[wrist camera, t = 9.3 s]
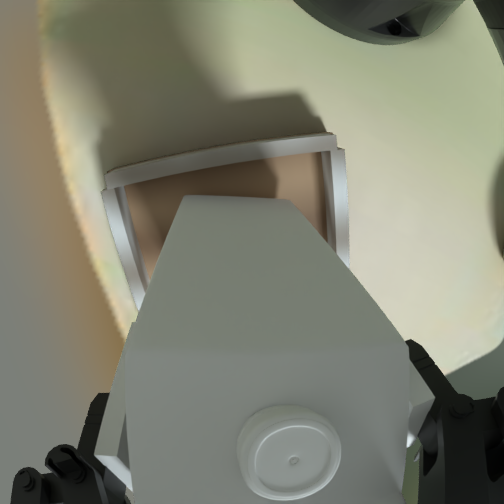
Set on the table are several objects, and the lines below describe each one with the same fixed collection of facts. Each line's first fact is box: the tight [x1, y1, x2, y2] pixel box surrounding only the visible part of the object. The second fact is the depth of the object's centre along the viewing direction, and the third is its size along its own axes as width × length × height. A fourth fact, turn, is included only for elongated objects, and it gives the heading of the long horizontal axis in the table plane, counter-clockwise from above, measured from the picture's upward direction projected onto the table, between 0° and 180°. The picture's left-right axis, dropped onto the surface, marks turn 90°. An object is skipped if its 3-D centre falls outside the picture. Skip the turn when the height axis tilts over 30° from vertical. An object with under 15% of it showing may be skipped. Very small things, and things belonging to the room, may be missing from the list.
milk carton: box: [125, 195, 410, 504], centre depth 13 cm, size 7×7×19 cm
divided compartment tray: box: [101, 132, 349, 311], centre depth 25 cm, size 26×16×3 cm, turn 8°
